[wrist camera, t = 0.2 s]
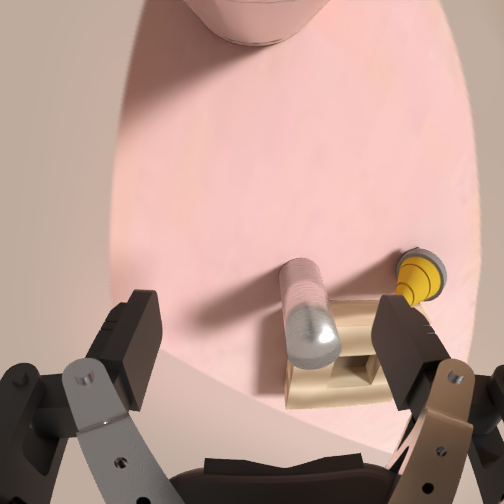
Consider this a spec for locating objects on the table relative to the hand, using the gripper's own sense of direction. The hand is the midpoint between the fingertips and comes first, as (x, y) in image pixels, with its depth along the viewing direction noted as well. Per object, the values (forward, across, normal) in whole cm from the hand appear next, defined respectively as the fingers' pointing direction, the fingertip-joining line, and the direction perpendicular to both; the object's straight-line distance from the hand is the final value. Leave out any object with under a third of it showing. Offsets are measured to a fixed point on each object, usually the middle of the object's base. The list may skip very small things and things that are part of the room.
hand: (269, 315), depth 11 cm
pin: (+18, -4, +9) cm, 20 cm away
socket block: (+18, -11, +19) cm, 29 cm away
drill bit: (+18, -15, +8) cm, 25 cm away
